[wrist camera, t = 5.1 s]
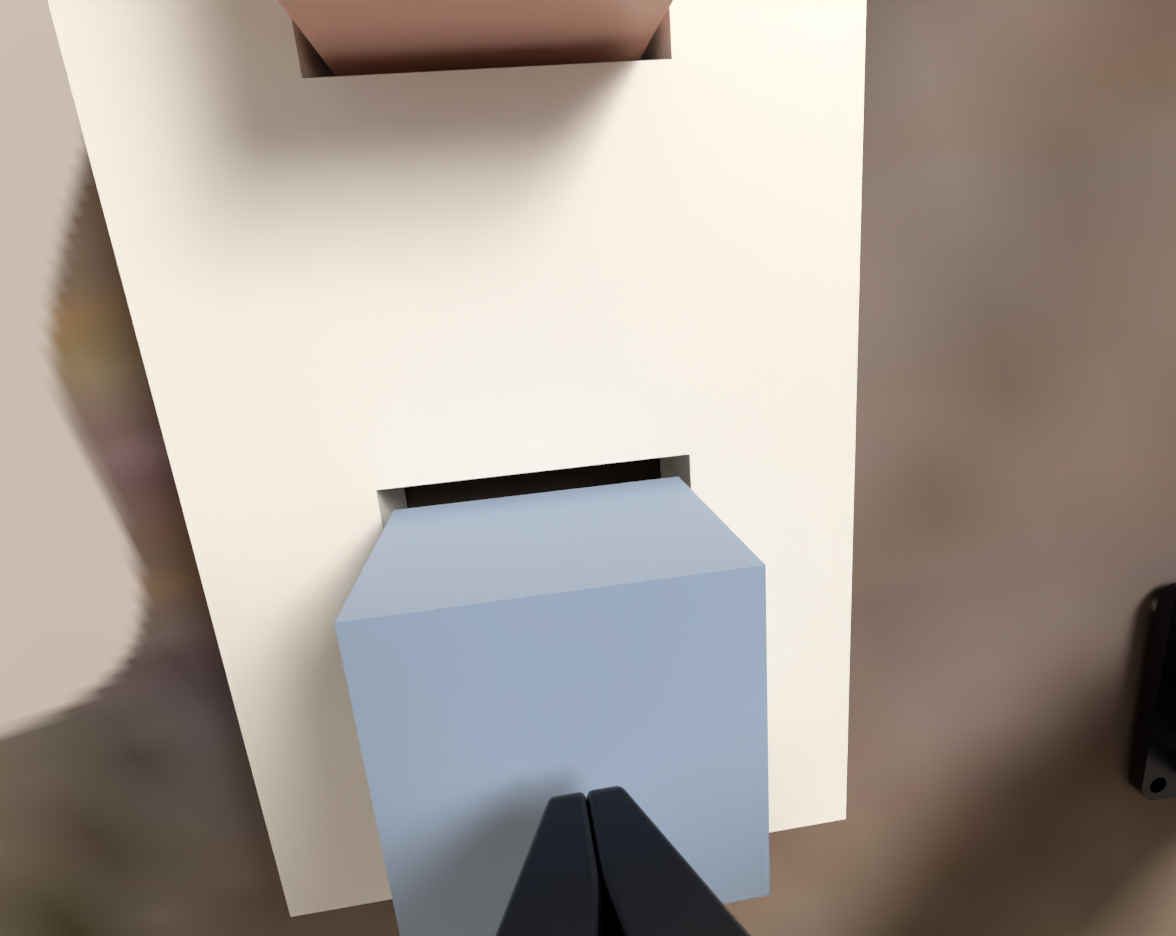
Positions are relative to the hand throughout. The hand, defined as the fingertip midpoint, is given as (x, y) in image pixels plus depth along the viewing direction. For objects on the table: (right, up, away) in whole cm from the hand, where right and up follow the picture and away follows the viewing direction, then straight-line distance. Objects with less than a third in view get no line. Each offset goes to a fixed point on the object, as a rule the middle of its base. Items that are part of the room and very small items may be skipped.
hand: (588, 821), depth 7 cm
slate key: (-1, +1, +5) cm, 5 cm away
